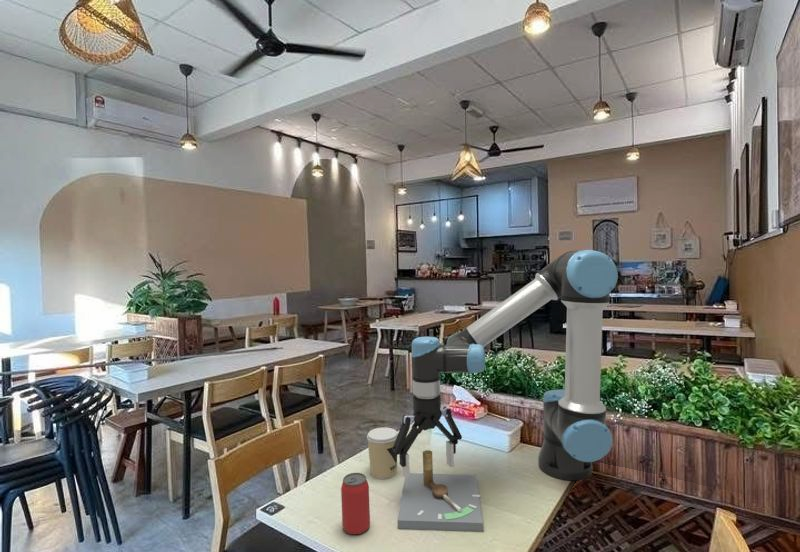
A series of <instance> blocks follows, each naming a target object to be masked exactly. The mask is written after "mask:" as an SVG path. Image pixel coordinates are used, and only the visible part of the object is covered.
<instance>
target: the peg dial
mask: <svg viewBox="0 0 800 552" xmlns="http://www.w3.org/2000/svg"><path fill="white" fill-rule="evenodd" d="M433 463H434V462H433V451H432V450H429V449H427V450H423V451H422V468H423V469H422V471H423V479H424V485H426V486H429V487H430V488H431V489H432V494H433V496H434V497H436V498H444V499H445V500H446V501H447V502H449V503H450V504H451V505H452V506H453V507H454V508H455V509H456V510H457V511H458V512H459V511H461V508H460V507H459V506H458V505H457V504H455V503H454V502H453V501H452V500H451V499H450V498H449V497H448V496H447V495H448V488H447V486H445V485H443V484H437V485H436V484H435V483H434V482H433V474H434V465H433Z"/></svg>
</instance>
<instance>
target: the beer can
mask: <svg viewBox="0 0 800 552" xmlns="http://www.w3.org/2000/svg"><path fill="white" fill-rule="evenodd" d="M340 492H341V493H340V494H341V495H340V497H341V518H342V519H341V520H342V522H341V523H342V528H343V531H344V532H345V533H347V534H350V535H360V534H363V533H366V531H368V529H369V528H370V526H371V513H370V511H371V510H370V509H371V508H370V485H369V483H368V480H367V476H366V475H365V474H364V473H362V472H361V473H360V472H351V473H347V474H346V475H345V476H344V477H343V478H342V484H341V488H340Z"/></svg>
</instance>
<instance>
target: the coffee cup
mask: <svg viewBox="0 0 800 552" xmlns="http://www.w3.org/2000/svg"><path fill="white" fill-rule="evenodd" d="M398 433H399V432H397V430H396V429H394V428H392V427H391V428H390V427H377V428H374V429H371V430H370V431H369V432H368V433H367V436H366V438H367V446H368V456H369V458H368V459H369V467H370V474H371V476H372V477H373V478H376V479H380V480H386V479H391V478H393V477H394V476H396V474H397V469H398V455H397V454H396V453H395V452H394V451H393V450H392V448H393V445H394V443H395V440H396V438H397V435H398Z"/></svg>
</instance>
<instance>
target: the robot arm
mask: <svg viewBox="0 0 800 552" xmlns="http://www.w3.org/2000/svg"><path fill="white" fill-rule="evenodd" d="M534 276H535V277H534V279H533V280H532V281H530V282H529V283H527V284H526V285H524V286H523V287H522V288H520V289H518V290H517V291H516V292H515V293H513V294H511V295H510V296H509V297H508V298H505V299H504V300H503V301H502V302H501V303H499V304H497V305H496V306H495V307H494V308H492V309H490V310H489V311H488V312H486V313H485V314H484V315H482V316H481V317H480V318H478V319H476V320H475V321H474V322H472V323H471V324H469V325H468V326H467V327H465V328H464V329H463V330H461V331H460V332H457V333H454V334H451V335H450V336H449V338H448V339H447V341H446V344H441V343H440V340H439V338H438V337H436V336H418V337H416V338H414V339H412V342H411V373H412V377H411V378H412V394H413V395H412V409H413V414H412V415H407V414H403V415H402V419H401V421H402V422H401V425H400V428H399V431H398V432H397V433H398V435H397V438H396V440H395V443H394V445H393V448H392V450H393V451H394V452H395V453H396V454H397V456H398V455H399V457H398V458H399V465H400V466H401V467H402V475H403V477H404V479H405V478H406V479H407V480H408V479H410V473H411V472H410V469H411V468H410V454H409V453H408V452H409V450H410V449H411V447H412V446H413V444H414V442H415V440H417V437H418V436H419V435H420V434H421V433H422V432H423V431H428V430H433V429H435V428H437V429H438V430H439V431H440V432H441V433H442V434H443V435H444V437H446V438H447V439H448V440H446V441H445V450H446V451H445V452H446V453H445V454H446V465H448V466H449V468H450V469H451V468H452V469H453V468H455V460H454V459H455V457H454V456H455V454H456V453H457V445H458V442H459V440H460V441H461V440H462V439H463V436H462V433H461V432H460V430H459V428H458V426H457V424H456V422H455V420H454V418H453V416H452V409H450V408H449V407H447V406H443V407H442V404H441V402H442V401H441V399H442V397H441V395H440V394H441V374H475V373H477V374H478V373H482V372H484V371H485V368H486V355H485V354H486V353H485V346H487V345H488V344H490V343H491V342H493V341H494V340H496V339H497V338H499V337H500V336H501V335H503V334H504V333H506V332H507V331H509V330H510V329H512V328H513V327H514V326H516V325H517V324H519V323H520V322H521V321H523V320H525V319H526V318H527V317H529V316H530V315H531V314H533V313H534V312H536V311H537V310H538V309H540V308H542V307H543V306H545V305H546V304H547V303H549V302H550V301H551V300H552V301H557V300H559V299H560V301H561V303H562V304H563V305H564V306H565V307H566V330H565V332H566V334H565V336H566V337H565V361H564V362H565V365H564V372H565V374H564V389H551V390H547V391H545V392H544V394H543V397H542V398H543V399H542V400H543V401H542V404H543V406H542V409H543V410H542V412H543V442H542V444H541V448H540V450H539V453H538V456H537V461H538V463H537V464H538V465H537V466H538V467H539V469H540V471H542V472H543V473H545V474H546V475H549V476H550V477H553V478H556V479H560V480H564V481H582V480H585V479H588V478H590V477H591V476H592V475H593V472H594V470H593V468H594V466H593V462H597V461H599V460H602V458H604V457H605V456H606V455H608V454H609V452H610V451H611V449H612V445H613V435H612V433H611V431H610V429H609V427H608V426H607V424H606V422H607V421H606V419H607V407H606V405H605V404H604V403H603V402H602V401H601V371H602V370H601V369H602V344H603V342H602V339H603V337H602V336H603V311H604V309H605V308H606V307H607V306H608V305H610V297H611V296H610V295H611V292H612V291H613V290H614V289H615V287H616V285H617V282H618V278H619V274H618V269H617V266H616V264H615V262H614V261H613V259H612V258H610V256H608V255H607V254H605V253H603V252H601V251H599V250H598V251H596V250H595V249H583V250H570V251H566V252H564V253H562V254H560V255H559V256H558V257H556V258H555V259H554V260H552V261H551V262H550V263H548V264H547V265H546V266H544V267H543V268H542V269H541V270H539V271H538V272H537V273H535V275H534ZM441 408H442V409H441ZM441 417H444V419H445V421H446V423H447V425H448V427H449V429H450V430H451V432H450V431H449V430H448V429H447V428H446V427H445V426H444V424H443V423H442V422H441V421H440V419H441ZM413 422H414V423H413ZM411 425H412V426H411ZM410 427H411V428H410Z"/></svg>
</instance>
